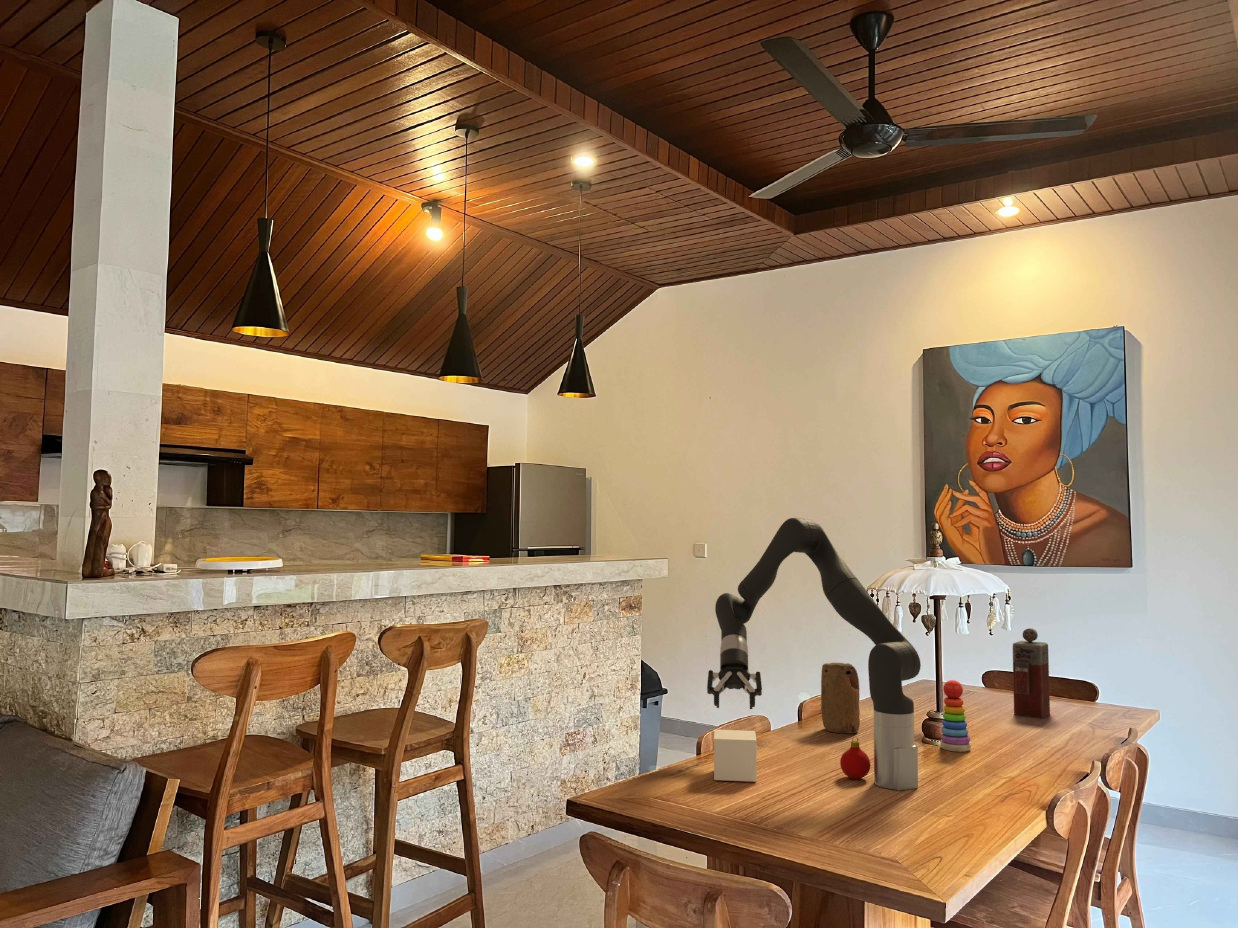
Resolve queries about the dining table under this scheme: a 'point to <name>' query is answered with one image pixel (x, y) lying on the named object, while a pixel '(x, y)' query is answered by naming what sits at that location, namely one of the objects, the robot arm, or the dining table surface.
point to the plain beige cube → (735, 755)
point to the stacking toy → (954, 720)
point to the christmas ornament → (855, 761)
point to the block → (840, 698)
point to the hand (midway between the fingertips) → (734, 706)
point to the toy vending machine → (1031, 676)
